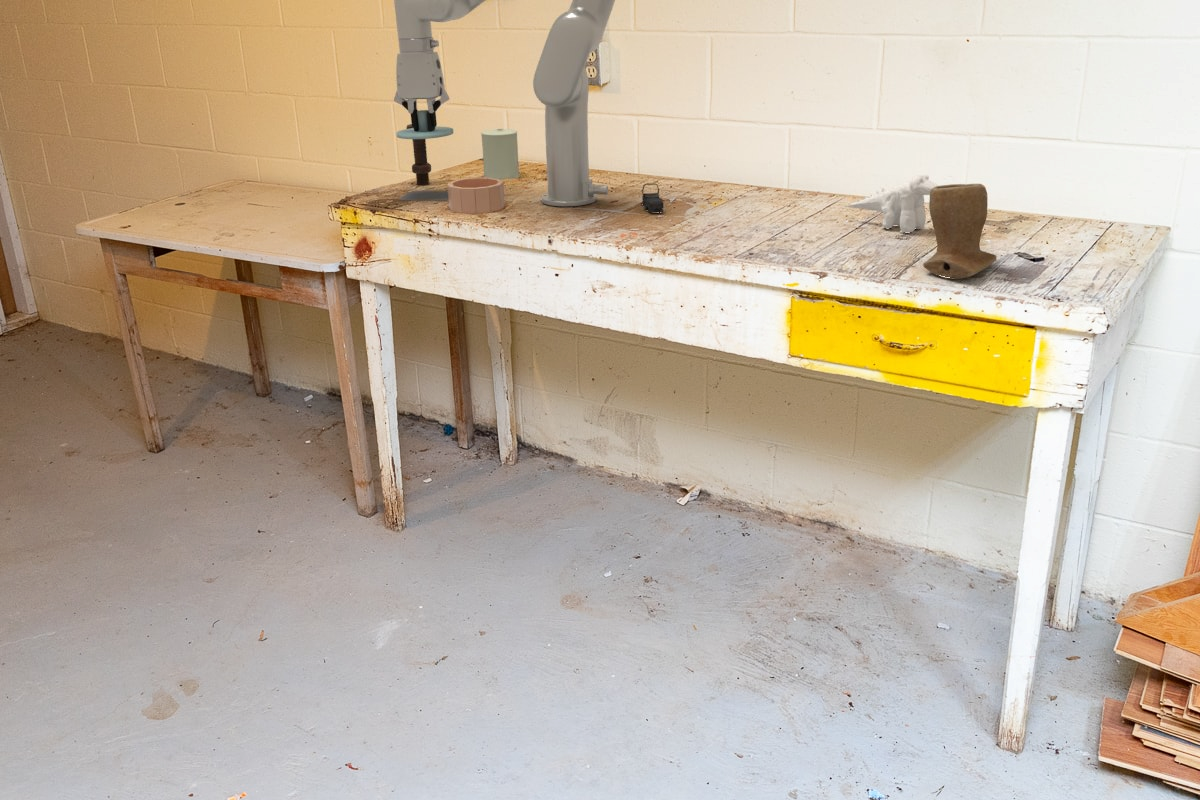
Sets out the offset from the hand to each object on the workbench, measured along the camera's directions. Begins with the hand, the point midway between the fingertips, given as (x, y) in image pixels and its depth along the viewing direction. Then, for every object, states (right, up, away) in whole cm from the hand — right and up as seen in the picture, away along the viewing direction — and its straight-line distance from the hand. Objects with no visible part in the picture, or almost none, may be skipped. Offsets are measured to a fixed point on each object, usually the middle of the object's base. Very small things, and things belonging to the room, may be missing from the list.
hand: (424, 129), depth 241 cm
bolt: (-4, -9, +19) cm, 22 cm away
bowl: (+13, -20, -6) cm, 24 cm away
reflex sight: (+52, -21, -10) cm, 57 cm away
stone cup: (+102, -40, -58) cm, 124 cm away
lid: (0, -1, 0) cm, 1 cm away
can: (+15, -6, +27) cm, 32 cm away
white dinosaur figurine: (+100, -28, -31) cm, 108 cm away
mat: (0, -15, +6) cm, 16 cm away
